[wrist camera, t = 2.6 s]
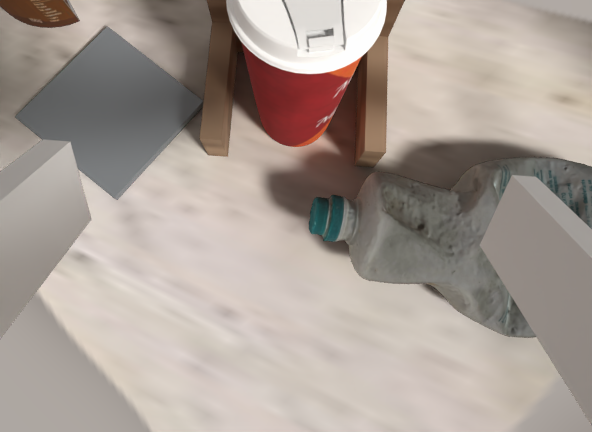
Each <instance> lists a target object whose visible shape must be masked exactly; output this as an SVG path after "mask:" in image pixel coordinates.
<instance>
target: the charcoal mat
mask: <svg viewBox="0 0 592 432" xmlns="http://www.w3.org/2000/svg"><path fill="white" fill-rule="evenodd" d="M202 107H203V101H202V100H201V99H200V98H199V97H197V96H196V95H195V94H194V93H192V92H191V91H190V90H188V89H187V88H186V87H185V86H183V85H182V84H181V83H179V82H178V81H177V80H176V79H174V78H173V77H172V76H170V75H169V74H168V73H167V72H165V71H164V70H163V69H162V68H160V67H159V66H158V65H156V64H155V63H154V62H153V61H151V60H150V59H149V58H147V57H146V56H145V55H144V54H142V53H141V52H140V51H138V50H137V49H136V48H135V47H133V46H132V45H131V44H130V43H128V42H127V41H126V40H124V39H123V38H122V37H121V36H119V35H118V34H117V33H115V32H114V31H113V30H112V29H110V28H109V27H108V26H107V27H106V28H105V29H104V30H103V31H102V32H101V33H100V34H99V35H98V36H97V37H96V38H95V39H94V40H93V41H92V42H91V43H90V44H89V45H88V46H87V47H86V48H85V49H84V50H83V51H82V52H81V53H80V54H79V55H78V56H76V57H75V58H74V59H73V60H72V61H71V62H70V63H69V64H68V65H67V66H66V67H65V68H64V69H63V70H62V71H61V72H60V73H59V74H58V75H57V76H56V77H55V78H54V79H53V80H52V81H51V82H50V83H49V84H48V85H47V86H46V87H45V88H44V89H43V90H42V91H41V92H40V93H39V94H38V95H37V96H36V97H35V98H34V99H32V100H31V101H30V102H29V103H28V104H27V105H26V106H25V107H24V108H23V109H22V110H21V111H20V112H19V113H18V114H17V115H16V116H15V117H16V118H17V119H18V120H19V121H20V122H22V123H23V124H24V125H25V126H27V127H28V128H29V129H30V130H31V131H33V132H34V133H35V134H36V135H38V136H39V137H40V138H41V139H42V140H43V139H44V140H57V141H70V142H71V146H72V150H73V153H74V157H75V161H76V164H77V168H78V169H79V170H80V171H81V172H83V173H84V174H85V175H86V176H87V177H89V178H90V179H91V180H92V181H94V182H95V183H96V184H97V185H98V186H100V187H101V188H102V189H103V190H105V191H106V192H107V193H108V194H109V195H111V196H112V197H113V198H115V199H116V200H118V199H119V197H120V196H121V195H122V194H123V193H124V192H125V191H126V190H127V189H128V188H129V187H130V185H131V184H132V183H133V182H134V181H135V180H136V179H137V178H138V177H139V176H140V175H141V173H142V172H143V171H144V170H145V169H146V168H147V167H148V166H149V165H150V164H151V163H152V161H153V160H154V159H155V158H156V157H157V156H158V155H159V154H160V153H161V152H162V151H163V149H164V148H165V147H166V146H167V145H168V144H169V143H170V142H171V141H172V140H173V139H174V138H175V136H176V135H177V134H178V133H179V132H180V131H181V130H182V129H183V128H184V127H185V126H186V124H187V123H188V122H189V121H190V120H191V119H192V118H193V117H194V116H195V115H196V114H197V112H198V111H199V110H200V109H201V108H202Z"/></svg>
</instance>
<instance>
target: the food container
mask: <svg viewBox="0 0 592 432" xmlns="http://www.w3.org/2000/svg"><path fill="white" fill-rule="evenodd" d="M0 6H1V7H2V8H3V9H4V10H5V11H6V12H7V13H9V14H10V15H11V16H13V17H14V18H15V19H17V20H19V21H21V22H23V23H26V24H29V25H32V26H37V27H47V28H52V27H62V26H66V25H70V24H73V23H76V22H78V21H80V20H79V18H78V16H77V15H76V13H75V11H74V9H73V7H72V5H71V3H70V1H69V0H0Z"/></svg>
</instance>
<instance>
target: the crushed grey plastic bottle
mask: <svg viewBox="0 0 592 432" xmlns="http://www.w3.org/2000/svg"><path fill="white" fill-rule="evenodd" d="M512 175H518V176H532V177H537V178H538V179H539V180H540V181H541V182H542V183H543V184H544V185H545V186H546V187H548V188H549V189H550V190H551V191H552V192H553V193H554V194H555V195H556V196H557V197H558V198H559V199H560V200H561V201H562V202H563V203H564V204H566V205H567V206H568V207H569V208H570V209H571V210H572V211H573V212H574V213H575V214H576V215H577V216H578V217H579V218H580V219H581V220H582V221H583V222H585V223H586V224H587V225H588V226H589V227H590V228H591V229H592V167H591V166H587V165H585V164H581V163H576V162H573V161H567V160H563V159H558V158H542V157H539V158H537V157H519V158H507V159H498V160H492V161H487V162H484V163H480V164H477V165H475V166H473V167H471V168H470V169H469V170H467V171H466V172H465V173H464V174H463V175H462V176H461V178H460V179H459V181H458V182H457V183H456V185H455V186H453V188H452V189H451V190H447V189H444V188H439V187H435V186H432V185H429V184H424V183H421V182H419V181H414V180H411V179H408V178H406V177H402V176H398V175H395V174H390V173H386V172H373V173H371V174H370V175H369V176H368V177H367V179H366V180H365V181H364V183H363V185H362V187H361V189H360V191H359V193H358V196H357V198H356V199H354V200H353V201H349V200H347V199H346V198H345V197H341V196H337V195H332V196H331V197H330V198H329V199H327V198H321V197H316V198H315V199H314V201H313V204H312V208H311V211H310V221H309V230H310V233H311V234H318V235H322V237H323V238H324V239H323V241H331V242H333V241H338V240H345V242H346V243H347V244H349V254H350V258H351V262H352V264H353V266H354V269H355V270H356V272H357V273H358V274H359V275H360V276H361V277H362V278H364V279H366V280H369V281H377V282H384V283H393V284H420V283H423V284H425V283H426V284H428V285H431V286H433V287H434V288H436V289H437V290H438V291H439V292H440V293H441V294H442V295H443V296H444V297H445V298H446V299H447V300H448V301H449V302H450V304H451V305H452V306H453V307H454V308H455V309H456V310H457V311H458V312H460V313H462V314H463V315H465V316H467V317H468V318H470V319H472V320H473V321H475V322H478V323H479V324H481V325H483V326H485V327H487V328H489V329H491V330H493V331H496V332H498V333H500V334H502V335H505V336H509V337H510V336H512V337H524V338H531V337H536V335H535V334H534V332H533V330H532V329H531V327H530V325H529V324H528V322H527V321H526V319H525V317H524V316H523V314H522V313H521V311H520V309H519V308H518V306H517V305H516V303H515V301H514V300H513V298H512V296H511V295H510V293H509V292H508V290H507V288H506V287H505V285H504V284H503V282H502V280H501V279H500V277H499V275H498V274H497V272H496V271H495V269H494V267H493V266H492V264H491V263H490V261H489V259H488V258H487V256H486V255H485V253H484V251H483V250H482V248H481V246H480V243H481V241H482V239H483V237H484V235H485V233H486V230H487V228H488V226H489V224H490V222H491V219H492V217H493V215H494V213H495V211H496V209H497V206H498V204H499V202H500V200H501V198H502V196H503V193H504V191H505V189H506V187H507V185H508V183H509V180H510V178H511V176H512Z"/></svg>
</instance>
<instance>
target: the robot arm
mask: <svg viewBox="0 0 592 432" xmlns="http://www.w3.org/2000/svg"><path fill="white" fill-rule="evenodd" d="M90 221H91V216H90V212H89V208H88V205H87V201H86V197H85V194H84V190H83V186H82V183H81V179H80V175H79V172H78V168H77V164H76V161H75V157H74V153H73V150H72V146H71V142H70V141H57V140H44V139H43V140H42V141H40V142H39V143H38V144H36V145H35V146H34V147H32V148H31V149H30V150H28V151H27V152H26V153H24V154H23V155H22V156H20V157H19V158H18V159H16V160H15V161H14V162H12V163H11V164H10V165H8V166H7V167H6V168H4V169H3V170H2V171H0V339H1V338H2V336H3V335H4V334H5V332H6V331H7V330H8V328H9V327H10V326H11V325H12V323H13V322H14V321H15V319H16V318H17V317H18V315H19V314H20V313H21V311H22V310H23V309H24V307H25V306H26V305H27V303H28V302H29V301H30V300H31V298H32V297H33V296H34V294H35V293H36V292H37V290H38V289H39V288H40V286H41V285H42V284H43V282H44V281H45V280H46V278H47V277H48V276H49V275H50V273H51V272H52V271H53V269H54V268H55V267H56V265H57V264H58V263H59V261H60V260H61V259H62V257H63V256H64V255H65V253H66V252H67V251H68V250H69V248H70V247H71V246H72V244H73V243H74V242H75V240H76V239H77V238H78V236H79V235H80V234H81V232H82V231H83V230H84V228H85V227H86V226H87V225H88V223H89V222H90ZM480 246H481V248H482V250H483V251H484V253H485V255H486V256H487V258H488V259H489V261H490V263H491V264H492V266H493V267H494V269H495V271H496V272H497V274H498V275H499V277H500V279H501V280H502V282H503V284H504V285H505V287H506V288H507V290H508V292H509V293H510V295H511V296H512V298H513V300H514V301H515V303H516V305H517V306H518V308H519V309H520V311H521V313H522V314H523V316H524V317H525V319H526V321H527V322H528V324H529V325H530V327H531V329H532V330H533V332H534V334H535V335H536V337H537V338H538V340H539V342H540V343H541V345H542V346H543V348H544V350H545V351H546V353H547V354H548V356H549V358H550V359H551V361H552V363H553V364H554V366H555V367H556V369H557V371H558V372H559V374H560V375H561V377H562V379H563V380H564V382H565V383H566V385H567V387H568V388H569V390H570V391H571V393H572V394H573V396H574V398H575V400H576V401H577V403H578V404H579V406H580V408H581V409H582V411H583V412H584V414H585V416H586V417H587V419H588V420H589V422H590V424H591V425H592V229H591V228H590V227H589V226H588V225H587V224H586V223H585V222H583V221H582V220H581V219H580V218H579V217H578V216H577V215H576V214H575V213H574V212H573V211H572V210H571V209H570V208H569V207H568V206H567V205H566V204H564V203H563V202H562V201H561V200H560V199H559V198H558V197H557V196H556V195H555V194H554V193H553V192H552V191H551V190H550V189H549V188H548V187H546V186H545V185H544V184H543V183H542V182H541V181H540V180H539V179H538V178H537V177H532V176H518V175H512V176H511V178H510V180H509V183H508V185H507V187H506V189H505V191H504V193H503V196H502V198H501V200H500V202H499V204H498V206H497V209H496V211H495V213H494V215H493V217H492V219H491V222H490V224H489V226H488V228H487V230H486V233H485V235H484V237H483V239H482V241H481V243H480Z"/></svg>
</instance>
